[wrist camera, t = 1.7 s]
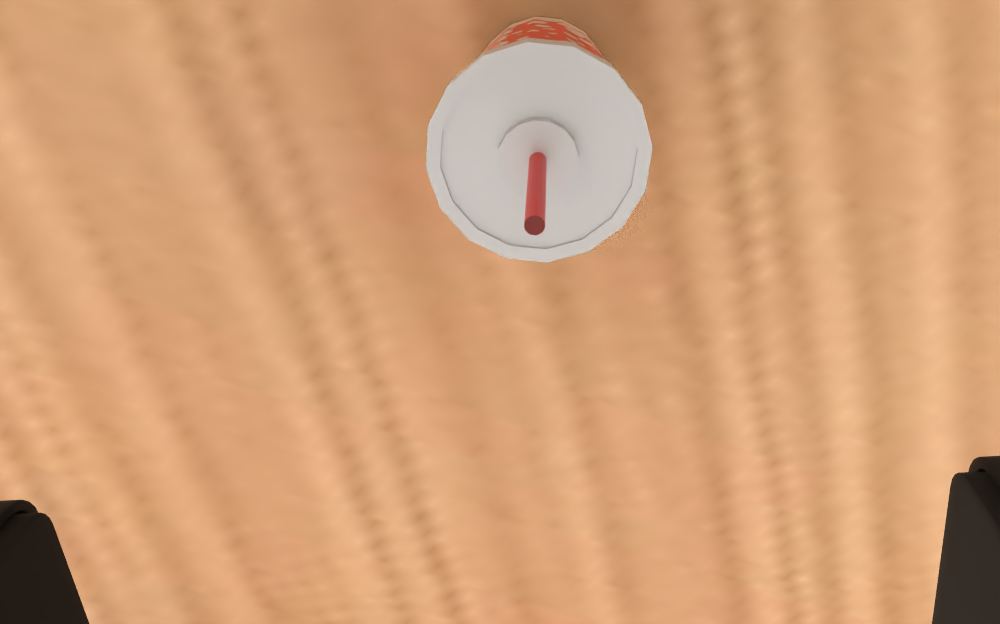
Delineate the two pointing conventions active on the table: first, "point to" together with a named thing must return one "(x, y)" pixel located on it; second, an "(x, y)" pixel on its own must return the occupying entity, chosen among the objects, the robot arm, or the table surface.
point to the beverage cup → (538, 145)
